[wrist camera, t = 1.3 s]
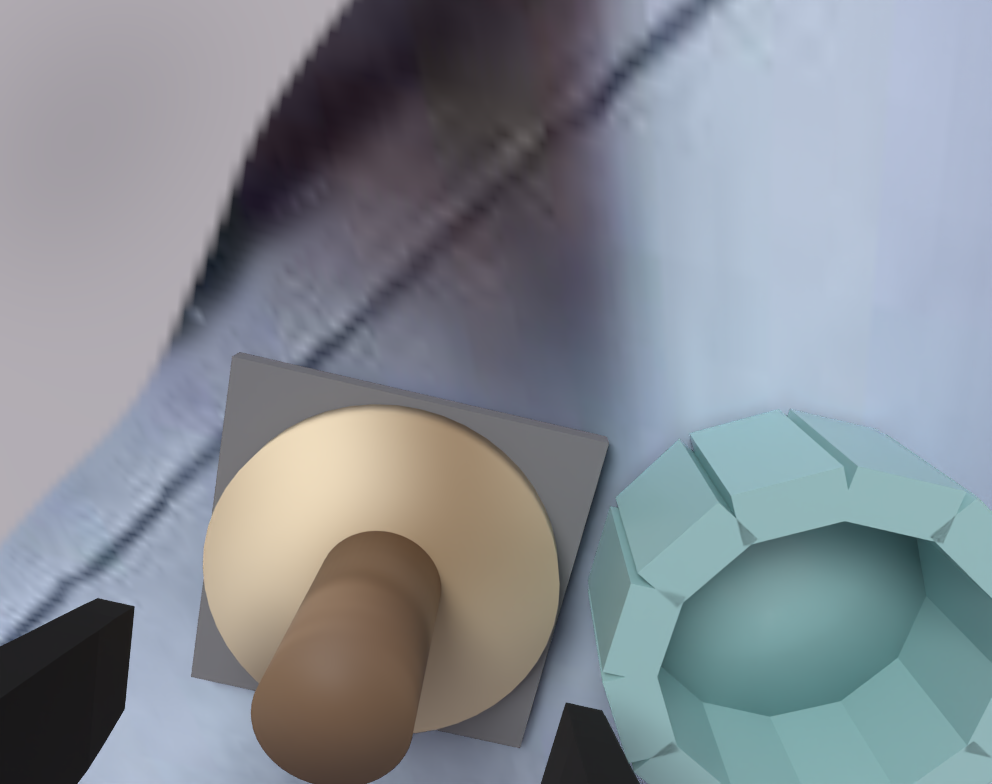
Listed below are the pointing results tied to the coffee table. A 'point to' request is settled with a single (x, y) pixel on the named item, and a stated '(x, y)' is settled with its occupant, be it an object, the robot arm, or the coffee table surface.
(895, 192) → the coffee table surface
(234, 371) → the mat
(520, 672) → the lid
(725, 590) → the bowl
